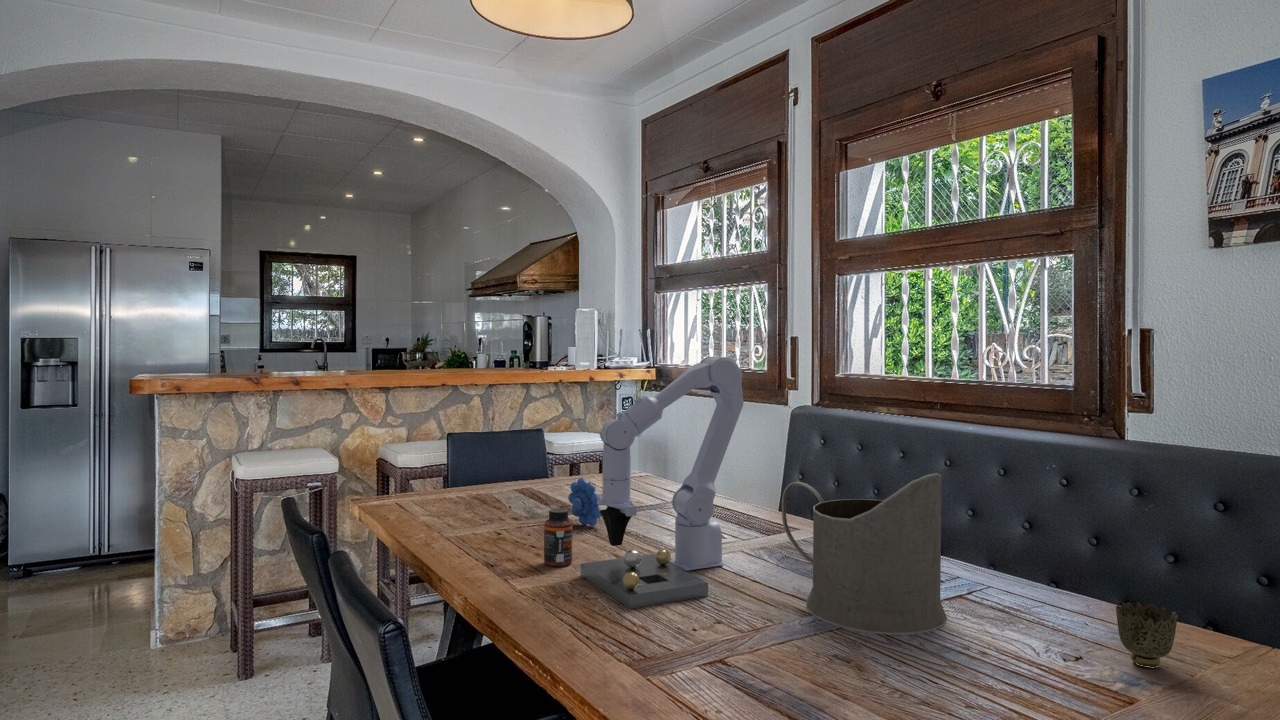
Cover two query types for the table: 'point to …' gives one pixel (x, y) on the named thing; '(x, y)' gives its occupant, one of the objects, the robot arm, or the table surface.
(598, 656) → the table surface
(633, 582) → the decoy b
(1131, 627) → the cup
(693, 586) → the plate
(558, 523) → the supplement bottle
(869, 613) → the pitcher
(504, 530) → the table surface
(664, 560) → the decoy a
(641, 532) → the table surface
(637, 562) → the steel ball
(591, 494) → the grapes
